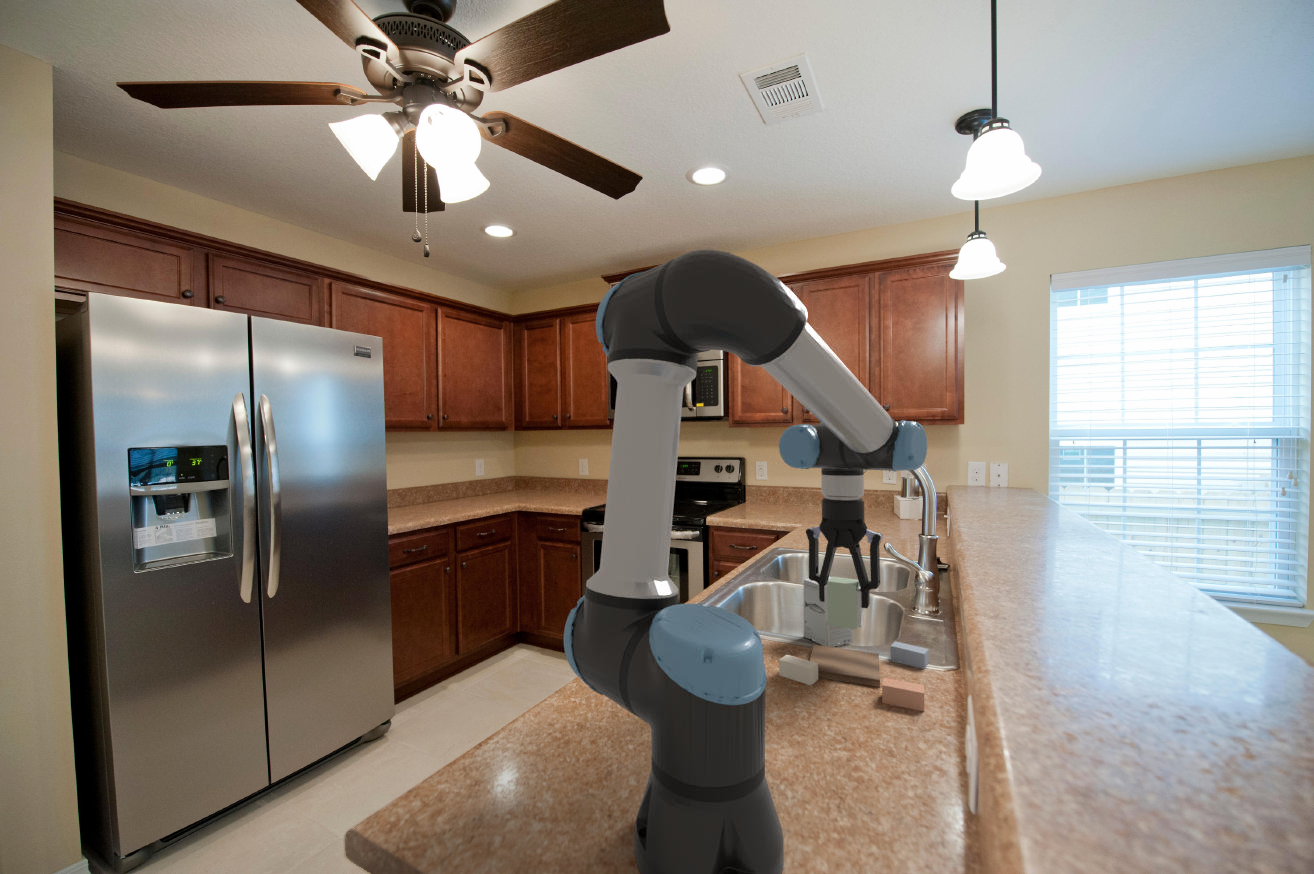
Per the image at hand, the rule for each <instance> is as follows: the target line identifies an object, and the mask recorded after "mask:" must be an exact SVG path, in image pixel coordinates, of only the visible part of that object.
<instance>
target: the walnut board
mask: <svg viewBox="0 0 1314 874" xmlns="http://www.w3.org/2000/svg"><path fill="white" fill-rule="evenodd" d="M811 650H812V651H811V653H810V654H811V655H810V659H809V661H812V662H815V663H818V678H822V679H829V680H835V681H840V682H846V683H852V684H853V683H854V684H859V685H865V686H872V687H876V688H877V687H878V688H881V674H880V673H881V671H880V670H881V669H880V656H879V655H880V654H879V653H878V652H870V651H861V650H856V649H849V648H841V647H828V646H822V645H821V644H813V647H812V649H811Z"/></svg>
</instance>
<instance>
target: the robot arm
mask: <svg viewBox="0 0 1314 874" xmlns="http://www.w3.org/2000/svg"><path fill="white" fill-rule="evenodd" d="M595 331H596V337H597V340H598V343H600V344H601V345H602V351H603V353H604V354H605V355H606V356H607V357H608V358H607V359H608V360H607V371H608V372H609V373H611V375H612V377H614V379H615V380H616V382H617V388H616V396H615V407H614V408H615V409H614V418H613V430H612V437H611V438H612V439H611V450H610V458H609V459H610V460H609V470H608V479H607V480H608V481H607V491H606V501H605V510H604V511H605V512H604V521H603V532H602V533H603V534H602V542H601V553H600V560H599V562H600V564H599V569H598V570H597V571H596V572H595V573H593V575H592V576H590V578H589V579H587V580H586V582H585V583H586V584H585V591H584V592H585V593H584V595H583V596H582V597H580V598H579V599H578V601H577V604H576V606H575V607H574V608H571V610H570V612H569V614H568V616H567V619H566V622H565V624H564V625H565V626H564V631H563V647H564V654H565V658H566V660H567V662H568V665H569V666H570V669H571V670H572V671H573V673H574V674H575V675H576V676H577V678H579V679H581V680H582V682H583V683H585V685H587V686H588V687H589V688H590V689H591V690H592V691H594V692H595V693H597V694H599V695H601V696H604V697H606V698H608V699H609V700H611V701H613V702H614V703H615V704H617V705H619V706H620V707H621V708H623V709H624V710H626V711H628V712H629V713H631V714H632V715H634V716H636V717H637V718H638V719H640V720H642V721H643V722H645V723H646V724H648V725H649V727H650V730H651V732H650V733H651V737H650V738H651V742H650V743H651V745H650V748H651V749H650V750H651V751H650V752H651V767H650V768H651V769H650V770H651V771H650V773H649V774H650V775H649V776H648V779H647V783H646V786H645V789H644V794H643V796H642V799H641V802H640V805H639V809H638V812H637V816H636V818H635V819H636V820H635V825H634V857H635V862H636V865H637V868H638V870H639V873H640V874H783V871H784V870H783V869H784V865H785V864H784V863H785V859H784V857H785V856H784V855H785V854H784V853H785V852H784V849H785V848H784V834H783V829H782V825H781V821H780V819H779V816H778V812H777V809H776V806H775V803H774V800H773V796H772V793H771V791H770V788H769V784H768V781H767V777H766V685H767V672H766V671H767V669H766V665H765V658H764V645H763V642H762V639H761V636H760V634H759V632H758V631H757V629H756V628H755V626H753V625H752V624H751V623H750V622H749V621H748V620H747V619H746V618H745V617H742V616H741V615H739V614H737V613H735V612H732V611H730V610H728V609H725V608H722V607H719V606H715V605H709V606H705V605H703V604H702V603H701V604H700V603H679V604H678V601H679V588H678V586H676V584H675V582H673V580H672V578H670V576H669V564H670V562H669V561H670V551H671V550H670V549H671V541H672V540H671V539H672V528H673V516H674V515H673V514H674V504H675V493H676V492H675V491H676V479H677V467H678V458H679V457H678V455H679V445H680V444H679V443H680V433H681V420H682V407H683V398H684V397H683V395H684V390H685V389H684V388H685V387H686V386H687V385H689V384H690V383H691V382H692V381H693V380H695V378H697V377H696V376H697V371H698V369H697V368H698V360H699V359H698V356H699V354H700V353H704V352H709V351H723V352H728V353H730V354H733V355H735V356H736V357H738V358H739V359H740V360H741V361H742V362H744V363H745V364H746V365H747V366H750V367H755V368H758V367H761V368H762V369H764V370H765V372H767V373H768V374H769V375H770V376H771V377H772V378H774V380H775V381H777V383H779V384H780V386H782V387H783V388H784V389H785V390H786V391H787V392H788V393H789V394H791V395H792V397H794V398H795V399H796V400H797V401H798V402H799V403H800V404H801V405H802V406H803V407H804V408H806V409H807V410H808V412H809V413H811V414H812V416H814V417H815V418H816V419H817V420H819V422H820V424H809V423H805V424H802V423H801V424H797V425H796V424H795V425H792V426H789V427H787V428H786V429H785V430H784V431H783V432H782V434H781V436H780V438H779V442H778V448H779V451H778V452H779V455H780V457H781V459H782V460H783V462H784V463H785V464H786V465H788V466H789V467H791V468H793V469H801V470H810V469H821V472H820V473H821V495H822V496H824V497H823V498H822V499H821V522H820V523H819V525H818V526H815V527H813V526H811V527H809V528H806V529H805V535H806V537H807V540H808V578H809V579H810V580H812V581H815V582H817V583H818V584H819V599H820V601H821V602H825V621H828V590H827V581H828V580H829V576H830V573H831V571H832V570H831V569H832V566H833V563H834V560H835V554H836V551H837V548H845V549H848V550H849V554H850V556H851V559H852V563H853V565H854V569H855V572H856V573H855V574H856V577H857V580H858V581H859V584H860V587H859V588H858V590H857V591H856V599H857V628H862V627H863V626H864V624H865V609H868V608H869V606H870V605H871V603H870V602H871V599H870V598H871V596H870V595H871V593H870V592H871V590H877V589H878V588H879V587H880V585H881V562H880V561H881V557H880V544H881V542H882V540H883V534H882V532H875V531H873V530H870V529H868V527H867V524H866V521H865V500H864V499H863V498H862V497H863V496H865V475H864V472H865V471H866V470H868V471H891V472H893V473H894V472H898V471H900V472H901V471H916V470H918V469H920V468H921V467H922V466H923V464H924V463H925V460H926V456H927V454H928V438H927V433H926V431H925V428H924V427H923V425H921V424H920V422H918V421H913V420H910V421H908V420H904V419H902V420H899V421H895V419H893V417H891V415H890V414H889V413H888V412H887V411H886V410H885V408H884V407H883V406H882V405H881V404H880V403H879V402H878V401H877V400H876V398H875V396H873V395H872V394H871V392H869V390H868V389H867V388H866V387H865V386H864V385H863V384H862V383H861V381H859V379H858V378H857V376H856V375H854V373H853V372H852V371H851V370H850V369H849V368H848V367H847V366H846V364H845V363H844V362H843V361H842V360H841V359H840V358H839V357H838V356H837V354H836V353H835V352H834V351H833V350H832V349H831V348H830V347H829V345H828V344H827V343H826V342H825V341H824V340H823V339H822V338H821V336H820V335H819V334H818V333H817V332H816V331H815V330H814V329H813V328H812V326H811V325H810V324H809V323H808V310H807V308H806V307H805V304H804V303H803V302H802V301H801V300H800V299H799V298H798V297H797V295H796V294H795V293H794V291H792V289H790V288H789V287H788V286H787V285H786V284H784V283H783V282H782V281H781V280H780V279H778V277H776V276H775V275H773V274H772V273H770V272H769V271H767V270H766V269H764V268H762V267H761V266H760V265H758V264H756V263H754V262H751V261H749V260H747V259H745V258H744V257H741V256H739V255H736V254H733V253H731V252H727V251H723V250H718V249H717V250H716V249H707V248H706V249H696V250H692V251H689V252H685V253H683V254H681V255H679V256H677V257H675V258H673V259H671V260H669V261H666V262H664V263H662V264H659V265H657V266H655V267H653V268H650V269H648V270H645V271H640V272H637V273H633V274H631V275H628V276H626V277H625V278H624V279H622V280H621V281H619V282H618V283H617V284H615V285H614V286H612V287H611V288H610V289H608V291H607V292H606V293H605V294H604V296H603V297H602V298H601V301H600V303H599V305H598V308H597V311H596V317H595ZM864 470H865V471H864ZM821 533H822V535H823V537H824V538H825V540H827V545H826V548H825V555H824V559H823V562H822V566H821V570H820V573H819V569H820V568H819V563H820V562H819V560H820V559H819V554H820V553H819V551H820V549H819V548H820V547H819V545H820V543H819V542H820V541H819V538H820V536H821ZM865 536H866V538H867V542H868V543H869V545H870V546H869V562H870V567H869V568H870V580H869V576H868V573H867V569H866V565H865V562H864V559H863V555H862V551H861V546H860V542H861V541H862V540H863V538H864V537H865Z"/></svg>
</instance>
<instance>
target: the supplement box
mask: <svg viewBox="0 0 1314 874" xmlns="http://www.w3.org/2000/svg"><path fill="white" fill-rule="evenodd" d="M832 577H833V576H830V575H829V579H830V578H832ZM853 630H854V629H851V628H846V627H840V626H835V625H829V624H828V621H825V602H821V601H820V599H819V584H818V583H817V582H815V581H812V580H810V579H809V577H807V578H804V579H803V638H807V639H808V640H810V639H813V640H815V641H814V642H815V643H816V644H818V645H821V646H828V647H835V646H837V647H840V646H839V645H841V644H846V645H849V644H850V645H851V644H852V643H853V641H854V639H853V637H854V636H853V634H854V633H853V632H854V631H853ZM813 640H812V641H813ZM838 643H840V644H838ZM835 648H836V647H835Z"/></svg>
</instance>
